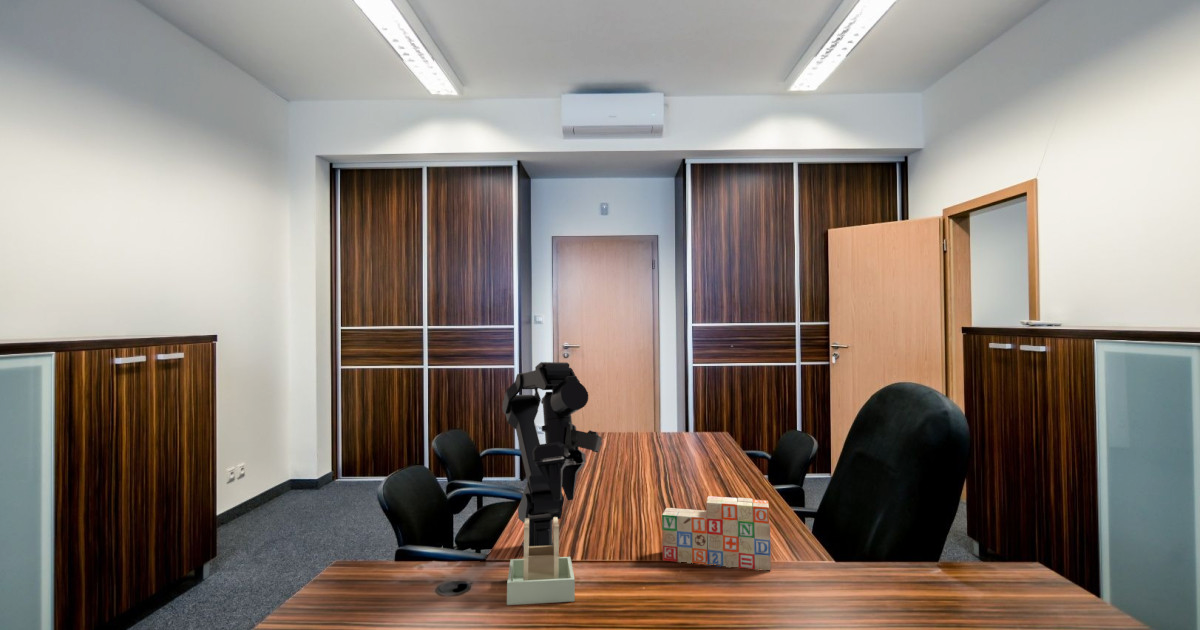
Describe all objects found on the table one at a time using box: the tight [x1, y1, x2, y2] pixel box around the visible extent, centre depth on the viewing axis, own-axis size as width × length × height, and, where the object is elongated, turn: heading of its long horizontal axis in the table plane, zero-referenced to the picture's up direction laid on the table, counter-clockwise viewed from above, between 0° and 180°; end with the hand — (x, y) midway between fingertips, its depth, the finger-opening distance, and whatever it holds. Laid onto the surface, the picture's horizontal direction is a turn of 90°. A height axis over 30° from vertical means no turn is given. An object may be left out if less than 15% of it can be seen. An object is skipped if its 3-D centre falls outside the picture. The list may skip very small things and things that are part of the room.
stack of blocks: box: [661, 495, 772, 571], centre depth 106 cm, size 21×6×12 cm, turn 74°
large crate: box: [506, 556, 576, 606], centre depth 92 cm, size 11×11×4 cm
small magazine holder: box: [523, 517, 560, 580], centre depth 92 cm, size 6×6×11 cm
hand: (564, 500), depth 102 cm, fingers open, 9 cm apart
